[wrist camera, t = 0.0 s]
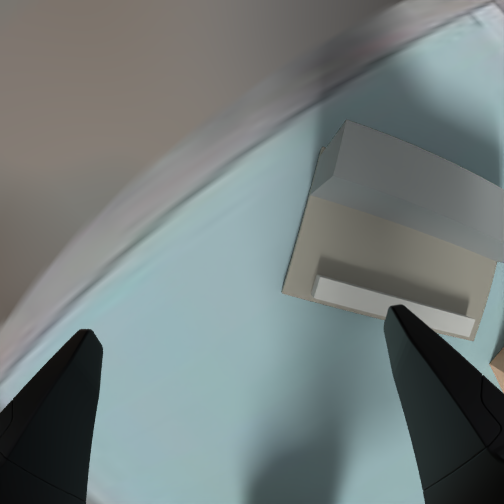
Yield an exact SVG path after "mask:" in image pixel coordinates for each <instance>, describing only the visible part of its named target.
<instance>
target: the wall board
mask: <svg viewBox="0 0 504 504" xmlns="http://www.w3.org/2000/svg"><path fill="white" fill-rule="evenodd" d="M497 262H501V263H504V189H502V188H500V187H498V186H497V185H495V184H493V183H491V182H489V181H488V180H486V179H484V178H482V177H480V176H478V175H476V174H474V173H473V172H471V171H469V170H467V169H465V168H463V167H461V166H459V165H457V164H455V163H453V162H450V161H448V160H446V159H444V158H442V157H440V156H438V155H436V154H433V153H431V152H429V151H427V150H424V149H422V148H420V147H417V146H415V145H413V144H410V143H408V142H406V141H403V140H401V139H398V138H396V137H393V136H391V135H388V134H385V133H383V132H380V131H378V130H375V129H372V128H369V127H367V126H364V125H361V124H358V123H355V122H352V121H350V120H346V121H345V122H344V124H343V125H342V126H341V128H340V129H339V131H338V132H337V133H336V135H335V136H334V138H333V139H332V140H331V142H330V143H329V144H328V146H327V147H322V148H321V150H320V154H319V158H318V162H317V166H316V170H315V174H314V178H313V181H312V185H311V189H310V193H309V196H308V200H307V204H306V207H305V211H304V215H303V218H302V222H301V226H300V229H299V233H298V236H297V240H296V243H295V247H294V250H293V254H292V257H291V261H290V264H289V268H288V271H287V275H286V278H285V281H284V285H283V288H282V293H283V294H286V295H290V296H293V297H297V298H301V299H305V300H308V301H312V302H316V303H320V304H323V305H327V306H331V307H335V308H339V309H342V310H346V311H350V312H354V313H358V314H362V315H366V316H370V317H374V318H378V319H382V320H385V319H386V315H387V311H388V308H389V307H390V306H391V305H398V304H402V305H404V306H406V307H407V308H408V309H409V310H410V311H411V312H413V313H414V314H415V315H416V316H417V317H418V318H420V319H421V320H422V321H423V322H424V323H425V324H427V325H428V326H429V327H430V328H431V329H432V330H434V331H435V332H436V333H440V334H444V335H448V336H453V337H457V338H462V339H466V340H471V341H474V338H475V336H476V333H477V330H478V327H479V324H480V321H481V318H482V315H483V312H484V309H485V305H486V302H487V299H488V295H489V292H490V288H491V284H492V281H493V277H494V273H495V269H496V265H497Z"/></svg>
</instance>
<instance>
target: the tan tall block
mask: <svg viewBox="0 0 504 504" xmlns="http://www.w3.org/2000/svg"><path fill="white" fill-rule="evenodd" d="M490 366H491V368H492V370H493V372H494V374H495V376H496V378H497V380H498V382H499V384H500V387H501V389H502V391H503V393H504V347H503V348H502V350H501V351H500V352H499V353H498V354H497V356H496V357H495V358H494V359H493V360H492V361H491V362H490Z"/></svg>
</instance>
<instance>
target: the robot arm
mask: <svg viewBox="0 0 504 504" xmlns="http://www.w3.org/2000/svg"><path fill="white" fill-rule="evenodd" d="M384 334H385V338H386V343H387V348H388V353H389V358H390V363H391V368H392V373H393V377H394V381H395V384H396V388H397V391H398V394H399V398H400V401H401V404H402V408H403V411H404V415H405V419H406V422H407V426H408V430H409V434H410V437H411V441H412V445H413V449H414V453H415V457H416V462H417V466H418V470H419V475H420V479H421V484H422V489H423V494H424V499H425V504H504V393H503V392H501V391H500V390H499V389H498V388H497V387H496V386H495V385H494V384H492V383H491V382H490V381H489V380H488V379H487V378H486V377H485V376H484V375H482V373H480V372H479V371H478V370H477V369H476V368H475V367H474V366H473V365H472V364H471V363H470V362H468V361H467V360H466V359H465V358H464V357H463V356H462V355H461V354H460V353H459V352H457V351H456V350H455V349H454V348H453V347H452V346H451V345H450V344H448V343H447V342H446V341H445V340H444V339H443V338H442V337H440V336H439V335H438V334H437V333H436V332H435V331H434V330H432V329H431V328H430V327H429V326H428V325H427V324H425V323H424V322H423V321H422V320H421V319H420V318H418V317H417V316H416V315H415V314H414V313H413V312H411V311H410V310H409V309H408V308H407V307H406V306H404V305H402V304H398V305H391V306H390V307H389V308H388V311H387V315H386V319H385V322H384ZM102 358H103V347H102V345H101V343H100V341H99V340H98V338H97V337H96V335H95V334H94V332H93V331H92V330H91V329H80V330H79V331H77V332H76V333H75V334H74V335H73V336H72V337H71V338H70V339H69V340H68V341H67V342H66V343H65V344H64V345H63V346H62V347H61V349H60V350H59V351H58V352H57V353H56V354H55V355H54V356H53V357H52V358H51V359H50V360H49V361H48V362H47V363H46V364H45V365H44V366H43V367H42V368H41V369H40V370H39V371H38V372H37V373H36V375H35V376H34V377H33V378H32V379H31V380H30V381H29V382H28V383H27V384H26V385H25V386H24V387H23V388H22V390H21V391H20V392H19V393H18V394H17V395H16V396H15V397H14V398H13V400H12V401H11V402H10V403H9V404H8V405H7V406H6V407H5V408H4V409H3V410H2V411H1V413H0V504H86V495H87V483H88V472H89V462H90V453H91V445H92V438H93V430H94V423H95V417H96V411H97V405H98V399H99V391H100V380H101V368H102Z"/></svg>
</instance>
